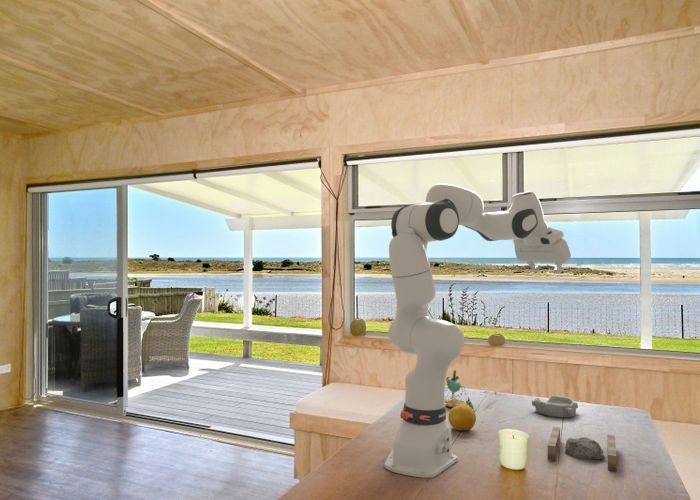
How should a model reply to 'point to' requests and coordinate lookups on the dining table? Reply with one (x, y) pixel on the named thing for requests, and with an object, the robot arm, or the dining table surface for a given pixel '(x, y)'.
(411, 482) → the dining table surface
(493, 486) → the dining table surface
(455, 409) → the fruit
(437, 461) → the robot arm
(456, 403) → the green and yellow piece
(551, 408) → the dish
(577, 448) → the rock
